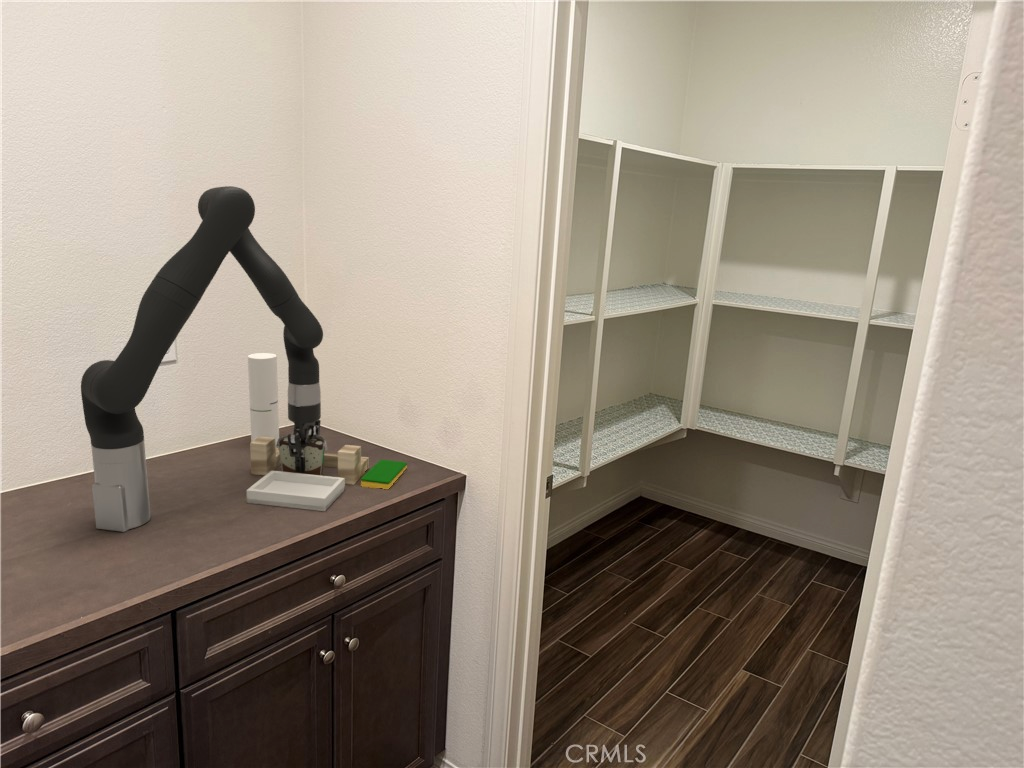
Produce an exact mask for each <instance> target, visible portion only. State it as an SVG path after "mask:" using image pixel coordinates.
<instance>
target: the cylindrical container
mask: <svg viewBox="0 0 1024 768" xmlns="http://www.w3.org/2000/svg"><path fill="white" fill-rule="evenodd" d="M277 360H278V359H277V354H275V353H271V352H257V353H251V354H249V355H247V365H248V367H247V368H248V369H247V370H248V371H247V372H248V390H249V394H248V395H249V396H248V397H249V414H250V415H249V417H250V437H251V439H250V440H251V442H252V441H254V440H255V439H257V438H258V437H270V438H275V444H277V441H278V439H279V438H280V425H279V424H280V419H279V396H278V395H279V394H278V391H279V389H278V388H279V387H278V361H277ZM251 442H250V443H251ZM276 448H279V446H277V447H276Z"/></svg>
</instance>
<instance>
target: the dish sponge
mask: <svg viewBox="0 0 1024 768" xmlns="http://www.w3.org/2000/svg"><path fill="white" fill-rule="evenodd" d="M406 468H407V469H408V463H407V462H406V461H398V460H397V461H396V460H390V459H380V460H379V461H377V462H376V463H375V464H374V466H372V467H371V468H369V469H368V470H367V471H366V472H365V473H364V474H363V475H362V477H361V478H360V487H361V486H362V488H368V487H369V488H371V489H376V488H383V489H382V490H384V489H389V488H390V487H391V486H392V485H393V483H394V482H395V481H396V480H397V479H398V477H399V476H400V475H401V474H402V473H403V471H404V470H405V469H406ZM398 480H399V479H398ZM398 480H397V481H398ZM397 481H396V482H397ZM396 482H395V483H396ZM393 486H394V485H393ZM393 486H392V487H393ZM392 487H391V488H392ZM369 488H368V489H369ZM391 488H390V489H391ZM390 489H389V490H390Z"/></svg>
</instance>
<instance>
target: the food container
mask: <svg viewBox="0 0 1024 768" xmlns="http://www.w3.org/2000/svg"><path fill="white" fill-rule="evenodd" d="M300 443H301V444H304V443H305V442H300ZM277 446H278V447H277ZM276 447H277V448H278V449H279V453H280V460H281V465H280V467H281V472H291V473H301V474H311V475H320V476H323V470H324V466H323V462H324V453H325V452H327V451H328V445H327V441H326V439H325V437H323V436H322V435H316V438H315V439H312V438H311V440H309V443H308V447H307V448H306V451H305V471H304V472H297V471H296V470H295V457H290V452H289V445H288V434H287V435H283V436H281V437H279V439H278V441H277V444H276ZM293 450H294V449H293ZM301 451H302V447H301Z"/></svg>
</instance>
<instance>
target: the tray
mask: <svg viewBox="0 0 1024 768" xmlns="http://www.w3.org/2000/svg"><path fill="white" fill-rule="evenodd" d="M345 490H346V484H345V478H340V477H338V476H330V475H322V476H320V475H311V474H301V473H291V472H282V470H273V471H270V472H269V473H268V474H267V475H263V476H262V477H261V478H260V479H259V480H257V481H256V482H255V483H254V484H252V485H251V486H250V487H249V488H248V489H246V503H247V504H255V505H263V506H264V505H265V506H271V507H272V506H273V507H274V506H275V507H282V508H290V509H291V508H292V509H300V510H311V511H318V512H319V511H320V512H321V511H322V512H326V511H327V510H328V509H329V508H330V506H331V505H332V504H334V502H335V501H336V500H337V499H338V498H339V497H340V496H341V495H342V494H343V492H344V491H345Z"/></svg>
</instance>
